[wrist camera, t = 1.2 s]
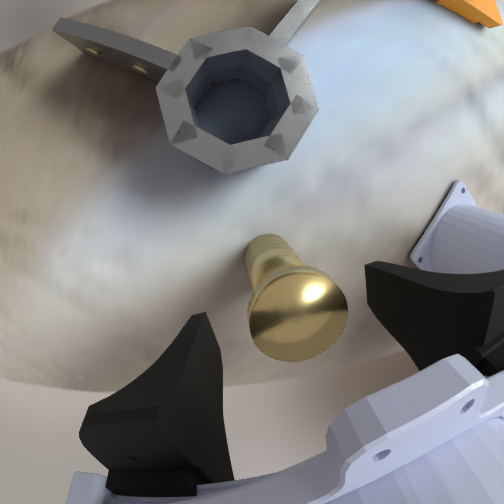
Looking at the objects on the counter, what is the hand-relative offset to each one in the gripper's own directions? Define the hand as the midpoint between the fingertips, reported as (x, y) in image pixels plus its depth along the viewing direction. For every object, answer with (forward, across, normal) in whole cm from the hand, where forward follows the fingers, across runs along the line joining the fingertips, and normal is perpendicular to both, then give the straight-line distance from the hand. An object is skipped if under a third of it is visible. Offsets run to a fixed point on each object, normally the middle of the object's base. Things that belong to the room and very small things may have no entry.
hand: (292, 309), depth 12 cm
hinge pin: (+7, 0, 0) cm, 7 cm away
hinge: (+7, 0, -15) cm, 16 cm away
